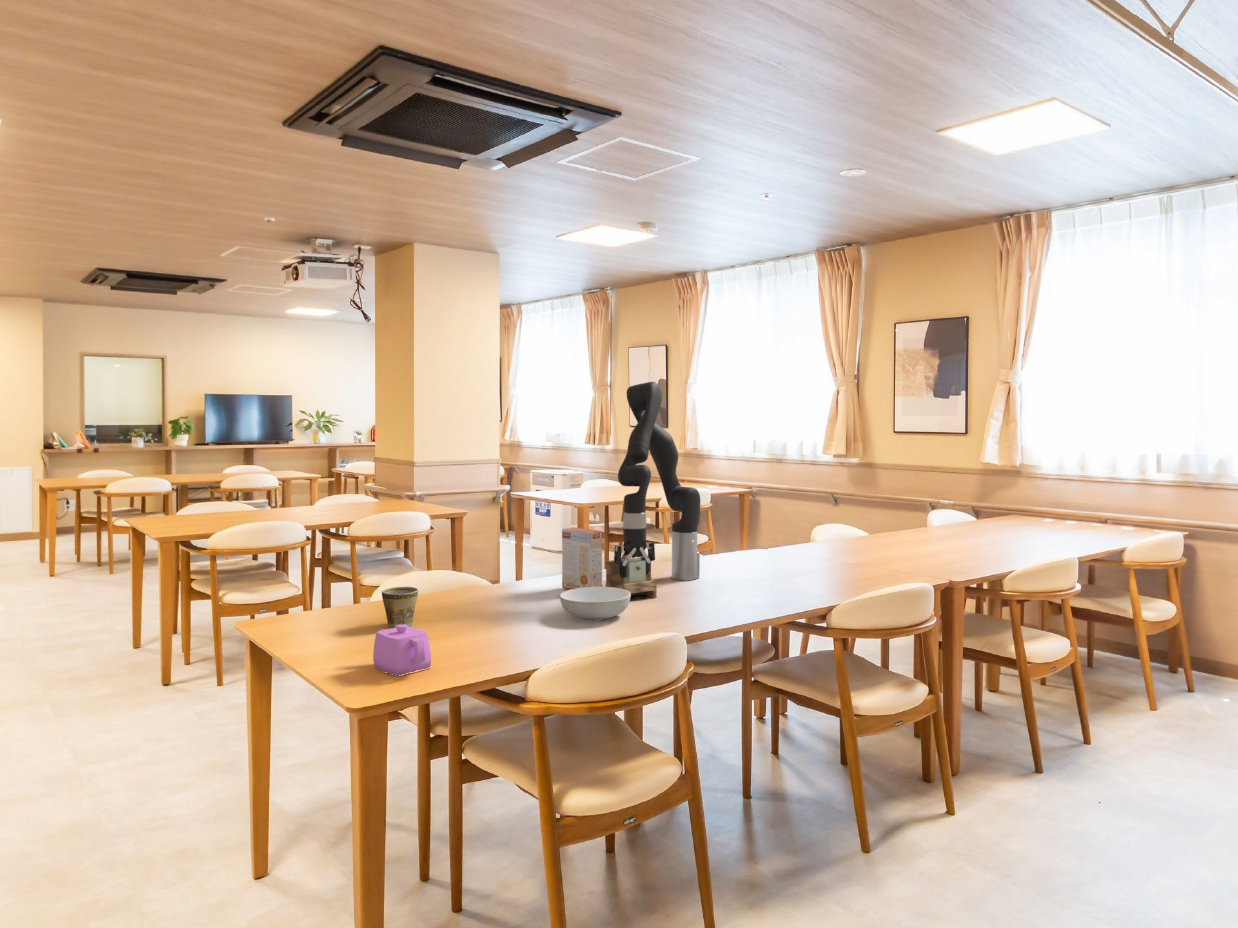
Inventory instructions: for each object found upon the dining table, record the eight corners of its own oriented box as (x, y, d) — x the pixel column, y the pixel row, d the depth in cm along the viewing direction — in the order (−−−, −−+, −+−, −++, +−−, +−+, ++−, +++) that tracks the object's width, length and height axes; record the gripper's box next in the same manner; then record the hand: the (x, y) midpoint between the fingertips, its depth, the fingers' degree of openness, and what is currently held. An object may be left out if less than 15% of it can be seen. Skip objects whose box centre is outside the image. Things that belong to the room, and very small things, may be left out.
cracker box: (603, 592, 275) (603, 530, 274) (590, 595, 271) (589, 532, 270) (574, 586, 285) (574, 526, 284) (561, 589, 281) (561, 528, 280)
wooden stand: (647, 592, 276) (647, 556, 275) (661, 596, 269) (661, 560, 268) (606, 597, 268) (606, 560, 267) (619, 602, 261) (619, 565, 260)
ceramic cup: (417, 629, 229) (416, 593, 228) (380, 630, 227) (379, 594, 226) (420, 617, 241) (420, 583, 241) (385, 619, 240) (384, 585, 239)
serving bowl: (588, 605, 258) (588, 583, 257) (644, 614, 246) (644, 591, 245) (545, 618, 241) (545, 595, 240) (602, 629, 229) (602, 604, 228)
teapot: (362, 664, 197) (361, 622, 196) (401, 655, 204) (400, 614, 204) (401, 681, 184) (401, 636, 184) (441, 671, 192) (441, 627, 191)
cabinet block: (639, 583, 271) (639, 559, 271) (646, 585, 267) (646, 561, 267) (623, 585, 268) (623, 560, 268) (631, 587, 264) (631, 563, 264)
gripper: (647, 523, 273) (647, 571, 275) (609, 526, 266) (610, 575, 267) (659, 525, 267) (659, 575, 268) (621, 529, 260) (621, 579, 261)
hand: (634, 575), depth 268 cm, fingers open, 8 cm apart
